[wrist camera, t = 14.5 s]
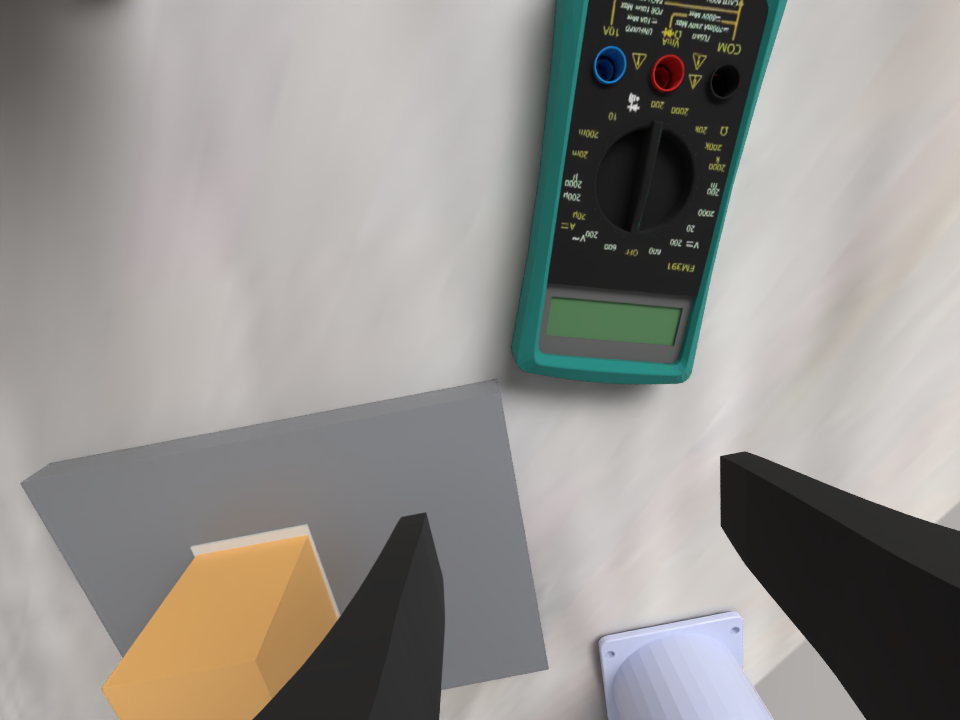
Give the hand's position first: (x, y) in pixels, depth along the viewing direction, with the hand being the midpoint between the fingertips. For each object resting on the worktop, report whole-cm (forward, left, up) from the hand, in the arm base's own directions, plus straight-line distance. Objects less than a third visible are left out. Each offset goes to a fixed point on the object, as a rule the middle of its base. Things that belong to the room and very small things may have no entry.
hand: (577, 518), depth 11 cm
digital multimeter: (+7, -5, -11) cm, 14 cm away
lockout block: (-8, +13, -8) cm, 17 cm away
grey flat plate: (-8, +11, -10) cm, 17 cm away
